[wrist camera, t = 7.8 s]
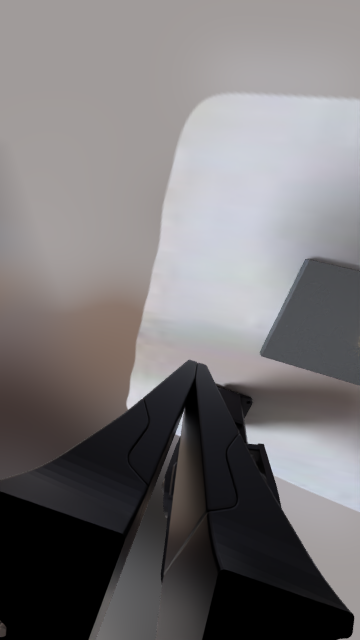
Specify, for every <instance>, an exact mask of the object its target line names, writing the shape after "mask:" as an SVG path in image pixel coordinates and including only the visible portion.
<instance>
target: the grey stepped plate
mask: <svg viewBox="0 0 360 640" xmlns="http://www.w3.org/2000/svg"><path fill="white" fill-rule="evenodd" d="M260 354H261V356H263V357H266V358H269V359H273V360H276V361H279V362H283V363H286V364H289V365H293V366H296V367H300V368H303V369H306V370H310V371H313V372H316V373H320V374H323V375H326V376H330V377H333V378H337V379H340V380H343V381H347V382H350V383H353V384H357V385H360V271H357V270H352V269H348V268H344V267H339V266H335V265H331V264H326V263H322V262H318V261H313V260H308V259H305V261H304V263H303V265H302V267H301V269H300V272H299V274H298V276H297V278H296V280H295V282H294V284H293V286H292V288H291V290H290V292H289V294H288V296H287V298H286V300H285V302H284V304H283V306H282V308H281V310H280V312H279V314H278V316H277V318H276V320H275V322H274V324H273V326H272V328H271V330H270V332H269V334H268V336H267V338H266V340H265V342H264V345H263V347H262V349H261V351H260Z"/></svg>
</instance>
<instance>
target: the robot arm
mask: <svg viewBox="0 0 360 640" xmlns="http://www.w3.org/2000/svg"><path fill="white" fill-rule="evenodd" d="M252 403H253V402H252V399H251V398H250V397H248V396H244V395H241V394H238V393H235V392H232V391H229V390H226V389H223V388H220V387H217V386H216V384H215V382H214V380H213V378H212V376H211V374H210V372H209V370H208V367H207V366H206V365H204V364H201V363H197V362H195V361H192V360H188V361H187V362H185V363H184V364H183V365H182V366H181V367H179V368H178V369H177V370H176V371H175V372H173V373H172V374H171V375H170V376H169V377H167V378H166V379H165V380H164V381H163V382H162V383H160V384H159V385H158V386H157V387H156V388H154V389H153V390H152V391H151V392H150V393H148V394H147V395H146V396H145V397H144V398H143V399H141V400H140V401H139V402H138V403H136V404H135V405H134V406H133V407H131V408H130V409H129V410H128V411H126V412H125V413H124V414H122V415H121V416H120V417H118V418H117V419H115V420H114V421H112V422H111V423H109V424H108V425H106V426H105V427H103V428H102V429H100V430H99V431H97V432H96V433H94V434H93V435H91V436H90V437H88V438H87V439H85V440H84V441H82V442H81V443H79V444H78V445H76V446H74V447H73V448H71V449H70V450H69V451H67V452H66V453H64V454H62V455H61V456H59V457H57V458H55V459H54V460H52V461H50V462H48V463H46V464H44V465H42V466H40V467H37V468H35V469H32V470H30V471H27V472H24V473H21V474H17V475H14V476H11V477H8V478H4V479H1V480H0V640H96V637H97V635H98V632H99V630H100V627H101V624H102V622H103V619H104V617H105V614H106V611H107V609H108V606H109V604H110V601H111V599H112V596H113V593H114V591H115V588H116V586H117V583H118V580H119V578H120V575H121V573H122V570H123V567H124V565H125V562H126V559H127V556H128V554H129V552H130V549H131V547H132V544H133V541H134V539H135V536H136V533H137V531H138V528H139V526H140V523H141V521H142V518H143V516H144V513H145V510H146V508H147V505H148V503H149V500H150V498H151V495H152V492H153V490H154V487H155V485H156V482H157V479H158V477H159V474H160V472H161V469H162V466H163V464H164V461H165V459H166V456H167V453H168V451H169V448H170V446H171V443H172V441H173V438H174V435H175V433H176V430H177V428H178V425H179V422H180V420H181V417H182V414H183V412H184V415H183V423H182V431H181V436H180V438H179V441H178V443H177V445H176V448H175V450H174V453H173V455H172V458H171V461H170V463H169V466H168V469H167V472H166V474H165V479H164V481H163V483H162V491H163V493H164V500H163V501H164V502H163V504H164V505H163V507H164V514H165V517H166V518H167V530H166V539H165V547H164V555H163V562H162V569H161V581H162V591H161V600H160V607H159V616H158V623H157V631H156V639H155V640H338V639H343V638H349V637H350V636H351V635H352V633H353V625H354V615H353V614H352V613H351V612H350V610H349V609H348V608H347V607H346V606H345V604H344V603H343V602H342V601H341V600H340V599H339V597H338V596H337V595H336V594H335V592H334V591H333V590H332V588H331V587H330V585H329V584H328V583H327V581H326V580H325V578H324V577H323V576H322V574H321V573H320V571H319V570H318V568H317V567H316V565H315V564H314V562H313V561H312V559H311V557H310V556H309V554H308V552H307V551H306V549H305V548H304V546H303V544H302V543H301V541H300V539H299V537H298V536H297V534H296V532H295V531H294V529H293V527H292V525H291V524H290V522H289V521H288V519H287V517H286V515H285V514H284V512H283V510H282V508H281V503H280V499H279V494H278V490H277V486H276V483H275V480H274V476H273V473H272V470H271V466H270V463H269V460H268V457H267V453H266V450H265V447H264V444H258V445H256V444H248V442H247V435H246V428H245V422H244V418H245V416H246V414H247V412H248V411H249V409H250V407H251V405H252Z"/></svg>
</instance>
